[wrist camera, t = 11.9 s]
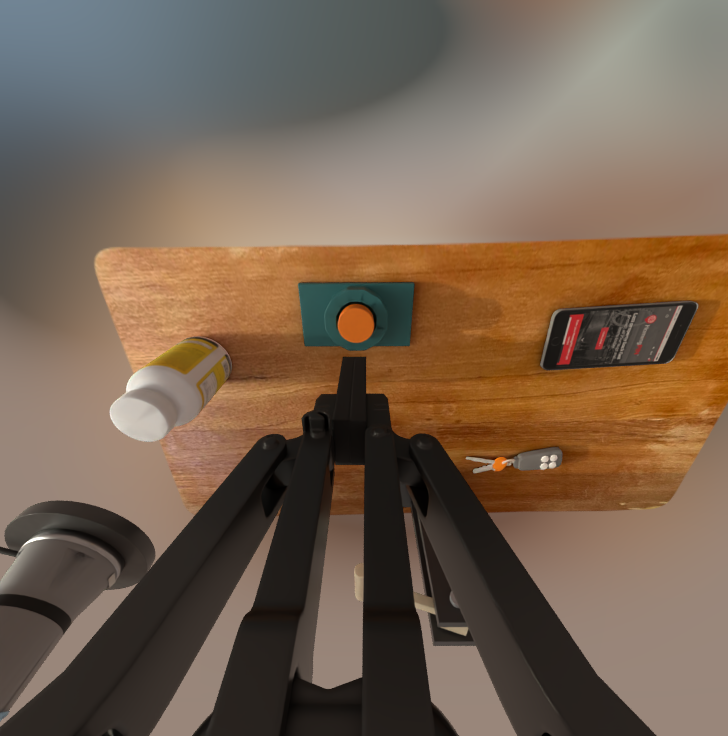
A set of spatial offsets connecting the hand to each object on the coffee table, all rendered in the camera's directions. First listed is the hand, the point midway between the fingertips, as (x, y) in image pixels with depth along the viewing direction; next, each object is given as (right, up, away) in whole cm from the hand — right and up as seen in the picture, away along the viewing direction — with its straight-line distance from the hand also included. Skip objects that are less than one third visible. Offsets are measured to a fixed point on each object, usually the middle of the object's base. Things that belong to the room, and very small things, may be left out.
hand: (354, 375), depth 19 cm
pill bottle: (-18, +2, +15) cm, 24 cm away
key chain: (+22, -13, +23) cm, 34 cm away
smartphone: (+29, +4, +14) cm, 32 cm away
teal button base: (0, +6, +13) cm, 14 cm away
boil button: (0, +5, +11) cm, 12 cm away
